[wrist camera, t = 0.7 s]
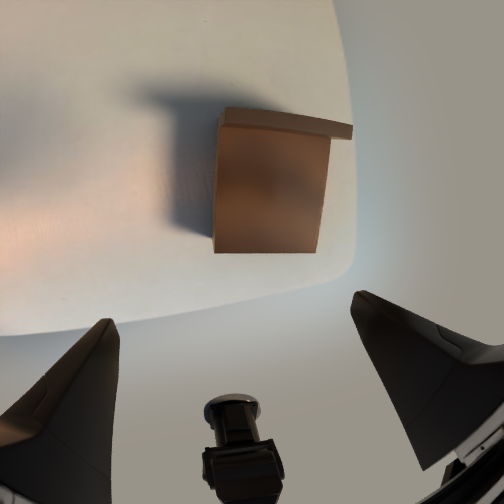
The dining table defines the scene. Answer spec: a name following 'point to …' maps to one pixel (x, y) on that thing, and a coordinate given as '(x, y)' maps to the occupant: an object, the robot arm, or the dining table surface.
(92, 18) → the dining table surface
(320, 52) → the dining table surface
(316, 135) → the bookend
